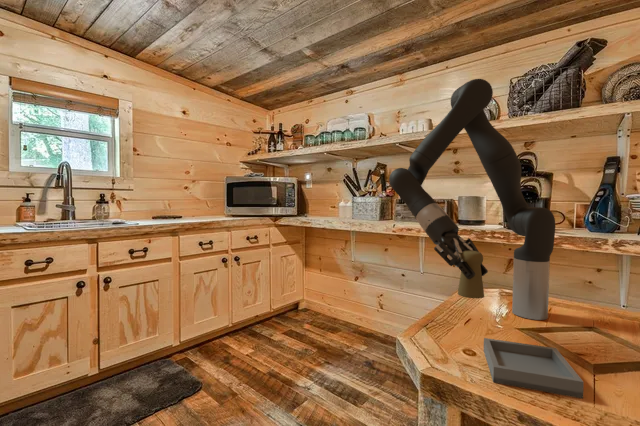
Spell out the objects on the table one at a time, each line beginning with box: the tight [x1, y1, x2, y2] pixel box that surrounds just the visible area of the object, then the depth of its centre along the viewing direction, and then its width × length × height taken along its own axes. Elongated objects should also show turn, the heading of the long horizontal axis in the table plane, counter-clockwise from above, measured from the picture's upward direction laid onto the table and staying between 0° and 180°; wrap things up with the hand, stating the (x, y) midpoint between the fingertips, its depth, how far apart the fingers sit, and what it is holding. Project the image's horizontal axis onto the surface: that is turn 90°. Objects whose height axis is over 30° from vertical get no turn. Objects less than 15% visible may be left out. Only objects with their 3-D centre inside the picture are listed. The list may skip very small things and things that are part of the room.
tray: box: [483, 337, 585, 400], centre depth 65 cm, size 14×14×3 cm
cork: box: [457, 250, 485, 299], centre depth 79 cm, size 6×6×11 cm
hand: (478, 275), depth 78 cm, fingers closed on cork, 5 cm apart
